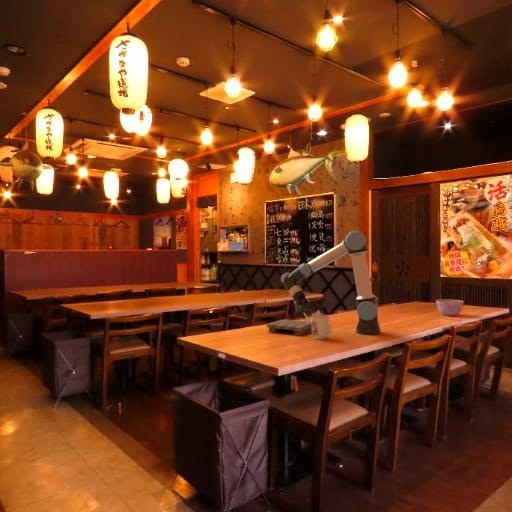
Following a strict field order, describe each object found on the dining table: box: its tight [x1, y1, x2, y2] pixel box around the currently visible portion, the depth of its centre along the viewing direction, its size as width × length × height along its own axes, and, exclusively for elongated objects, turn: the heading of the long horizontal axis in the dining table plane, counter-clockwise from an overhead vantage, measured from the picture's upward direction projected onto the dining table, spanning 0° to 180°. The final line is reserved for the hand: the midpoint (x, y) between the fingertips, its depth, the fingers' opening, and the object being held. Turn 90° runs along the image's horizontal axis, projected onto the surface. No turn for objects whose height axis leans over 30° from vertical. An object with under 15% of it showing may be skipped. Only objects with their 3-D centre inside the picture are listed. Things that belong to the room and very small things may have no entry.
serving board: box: [266, 319, 312, 336], centre depth 278 cm, size 24×22×5 cm
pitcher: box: [311, 313, 333, 340], centre depth 254 cm, size 11×18×14 cm, turn 30°
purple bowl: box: [435, 298, 465, 317], centre depth 335 cm, size 20×20×12 cm
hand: (316, 321), depth 257 cm, fingers open, 13 cm apart
